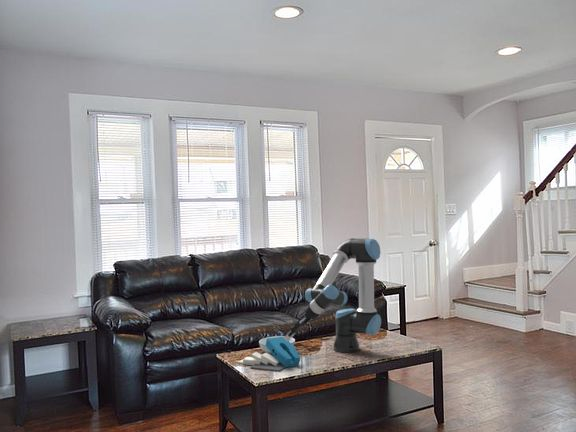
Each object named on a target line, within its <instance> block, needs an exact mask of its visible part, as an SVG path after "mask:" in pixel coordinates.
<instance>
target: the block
mask: <svg viewBox="0 0 576 432" xmlns="http://www.w3.org/2000/svg"><path fill="white" fill-rule="evenodd" d="M266 347H267V348H268V349H269V350H270V352H271V353H272V354H271V353H270V354H271V355H272V356H274V357H275V358H276V359H277V360H278V361H279V362H280V363H281V364H283V365H284V366H285V367H286V368H289V367H297V366H299V365H300V361H301V356H300V354H299V352H298V350H297V349H296V347H293V345H292V344H291V343H290V342H289V341H286V340H285V339H284V337H277V338H268V339H267V341H266Z"/></svg>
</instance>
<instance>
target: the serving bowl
mask: <svg viewBox="0 0 576 432" xmlns="http://www.w3.org/2000/svg"><path fill="white" fill-rule="evenodd" d="M285 336H286V335H274V336H269V337H267V336H266V337H264V338H261V339H260V340H259V341H258V346H259V347H260V349H261V350H262V351H263V352H264V353H268V354H270V355H273V354H272V353H271V352H270V350H269V349H268V348H267V347H266V341H267V339H268V338H277V337H285ZM289 342H290V343H291V344H292V345H293V347H294V346H295V343H296V339H295V338H294V337H292V338H291V339H290V340H289ZM294 348H295V347H294Z"/></svg>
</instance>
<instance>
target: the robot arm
mask: <svg viewBox="0 0 576 432" xmlns="http://www.w3.org/2000/svg"><path fill="white" fill-rule="evenodd" d="M380 257H381V246H380V243H379V242H378V241H377V240H376V239H375V238H368V237H367V238H354V237H353V238H347V239H346V240H344V241H342V242H341V243H340V244H339V245H338V246H337V247H336V248H335V249H334V251H333V253H332V256H331V260H330V261H329V262H328V264H327V266H326V268H325V269H324V270H323V272H322V274H321V275H320V277H319V278H318V280H317V282H316V284H315V285H314V286H313V287H309V288H308V289H306V291H305V295H304V296H305V297H304V298H305V299H306V302H309V304H308V305H307V306H306V307H305V308H304V313H305V314H302V316H301V318H299V319H298V321H297V322H296V323H295V324H294V325H293V326H292V327H290V330H289V331H288V333H287V334H286V335H284V336H285V337H284V339H285V340H286V341H289V340H290V339H291V338H294V336H295V335H296V334H299V331H300V330H301V329H302V328H303V327H304V326H305V325H306V324H307V323H309V322H310V321H311V320H313V321H314V320H316V319H318V317H319V316H320V315H321V314H322V313H325V310H326V309H327V308H328V307H329V306H330V305H333V306H344V305H346V304H347V302H348V298H349V297H348V295H347V293H346V292H345V291H344V290H343V291H342V290H339V289H338V288H337V287H336V286H335V285H333V283H334V281H336V279H337V276H338V275H339V273H340V271H341V270H342V268H343V267H344V265H345V264H346V263H348V262H349V260H351V259H353V260H354V259H355V263H356V265H358V308H357V309H355V308H343V309H340V310H337V311H336V312H335V318H334V319H335V339H334V342H333V346H332V347H333V351H335V352H339V353H348V354H349V353H355V352H358V351H359V350H360V344H359V341H358V338H357V334H362V335H366V336H369V335H370V336H371V335H372V336H373V335H374V336H375V335H376V334H378V333H379V331H380V328H381V327H382V326H381V325H382V317H381V315H380V314H378V310H377V309H376V308H375V271H374V270H375V264H376V263H377V260H379V258H380Z"/></svg>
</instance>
